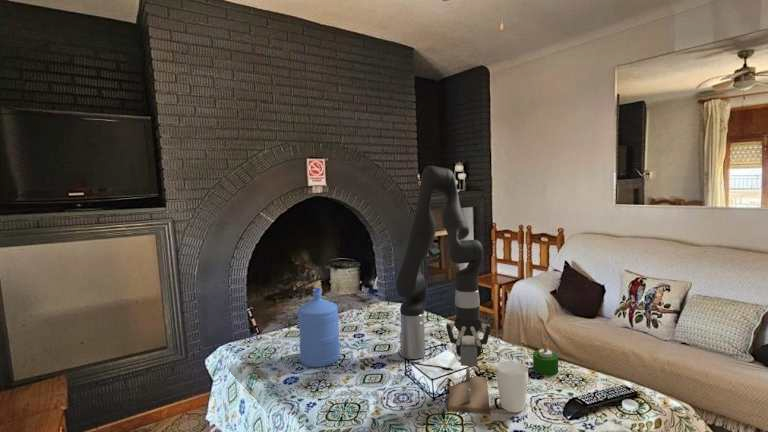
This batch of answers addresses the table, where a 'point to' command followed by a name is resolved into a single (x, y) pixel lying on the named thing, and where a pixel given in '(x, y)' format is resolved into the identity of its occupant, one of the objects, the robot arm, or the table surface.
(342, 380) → the table surface
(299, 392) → the table surface
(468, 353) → the block
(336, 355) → the water jug
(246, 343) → the table surface
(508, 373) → the cup
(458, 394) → the tray
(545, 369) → the candle
